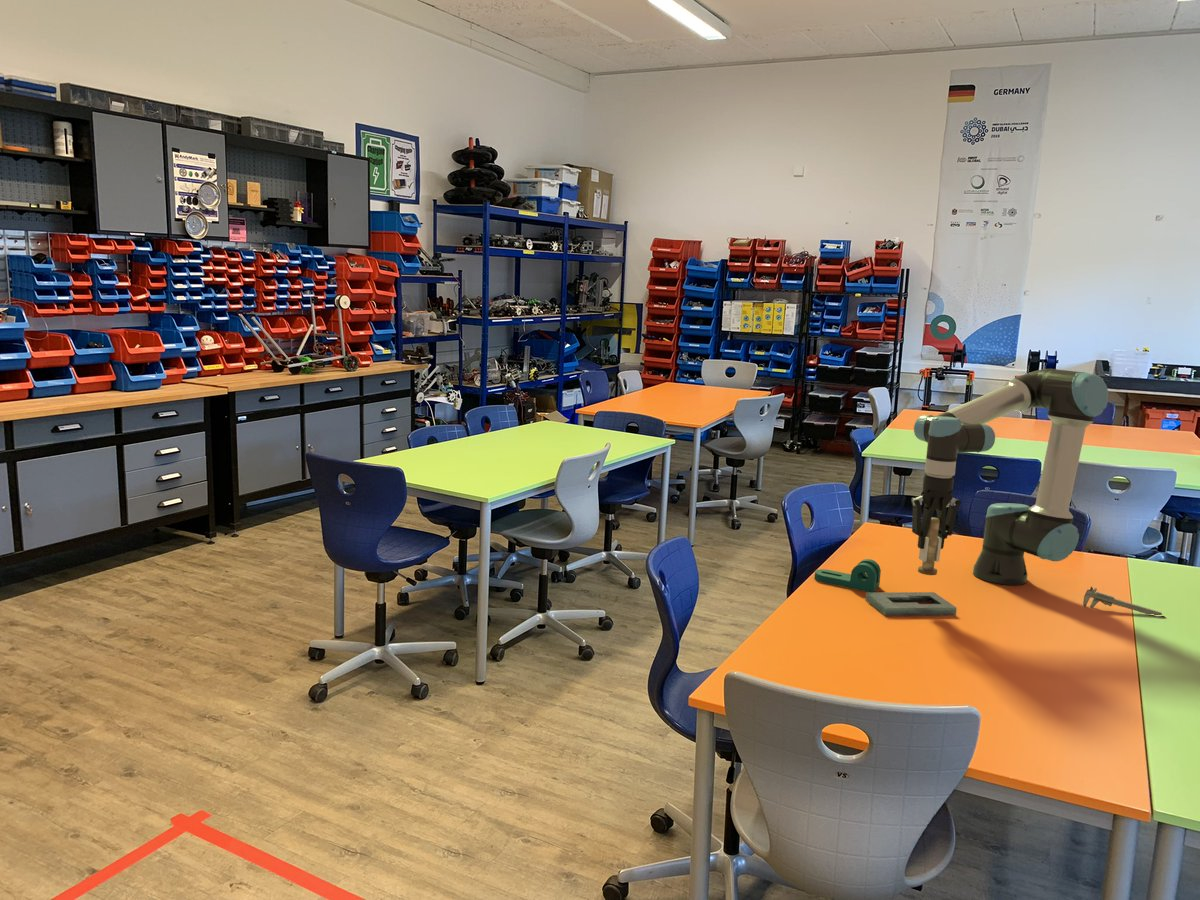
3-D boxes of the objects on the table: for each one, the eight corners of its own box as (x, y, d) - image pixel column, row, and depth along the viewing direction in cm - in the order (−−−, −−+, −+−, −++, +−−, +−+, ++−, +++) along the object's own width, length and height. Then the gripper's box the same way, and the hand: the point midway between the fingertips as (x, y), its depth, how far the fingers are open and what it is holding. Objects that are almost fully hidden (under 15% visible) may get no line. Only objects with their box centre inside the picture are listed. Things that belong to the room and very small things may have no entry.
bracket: (879, 587, 255) (881, 561, 253) (873, 593, 249) (876, 567, 248) (818, 575, 264) (820, 549, 262) (811, 580, 258) (813, 555, 257)
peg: (931, 569, 240) (937, 516, 237) (940, 575, 235) (946, 521, 232) (914, 569, 239) (921, 516, 236) (923, 575, 234) (929, 521, 232)
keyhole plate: (933, 599, 246) (933, 592, 245) (955, 615, 234) (956, 607, 234) (865, 600, 243) (866, 592, 242) (885, 616, 231) (885, 608, 231)
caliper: (1083, 607, 245) (1086, 586, 244) (1082, 606, 246) (1085, 585, 245) (1166, 618, 240) (1169, 597, 239) (1164, 617, 241) (1168, 595, 240)
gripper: (959, 472, 237) (949, 556, 241) (904, 471, 235) (894, 555, 239) (975, 478, 230) (963, 564, 234) (917, 477, 227) (907, 564, 232)
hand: (928, 559), depth 236 cm, fingers closed on peg, 3 cm apart
